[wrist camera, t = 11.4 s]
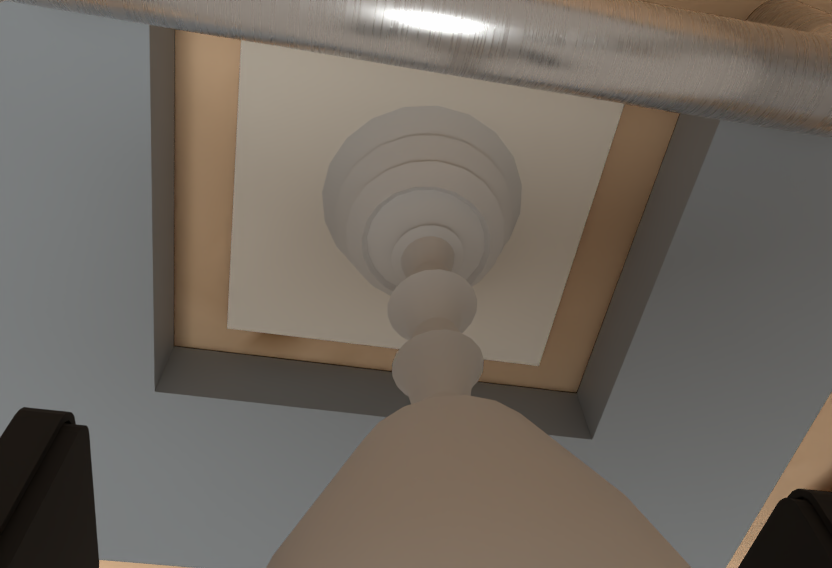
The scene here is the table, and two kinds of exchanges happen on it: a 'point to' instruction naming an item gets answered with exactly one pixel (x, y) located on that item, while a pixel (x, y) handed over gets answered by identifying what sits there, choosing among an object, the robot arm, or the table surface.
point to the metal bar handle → (549, 47)
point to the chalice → (450, 379)
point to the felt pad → (307, 169)
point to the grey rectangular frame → (373, 389)
